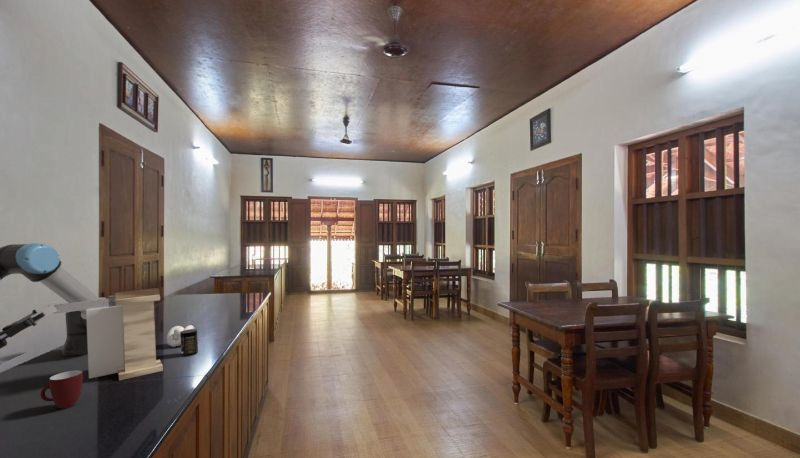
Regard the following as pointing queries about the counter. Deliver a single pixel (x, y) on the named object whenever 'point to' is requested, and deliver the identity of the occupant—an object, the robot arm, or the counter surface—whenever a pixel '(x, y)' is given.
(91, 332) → the block
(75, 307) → the steel bar
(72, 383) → the mug
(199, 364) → the counter surface
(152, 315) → the stand
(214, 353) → the counter surface
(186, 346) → the supplement container
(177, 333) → the white twisted tube knot
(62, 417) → the counter surface
